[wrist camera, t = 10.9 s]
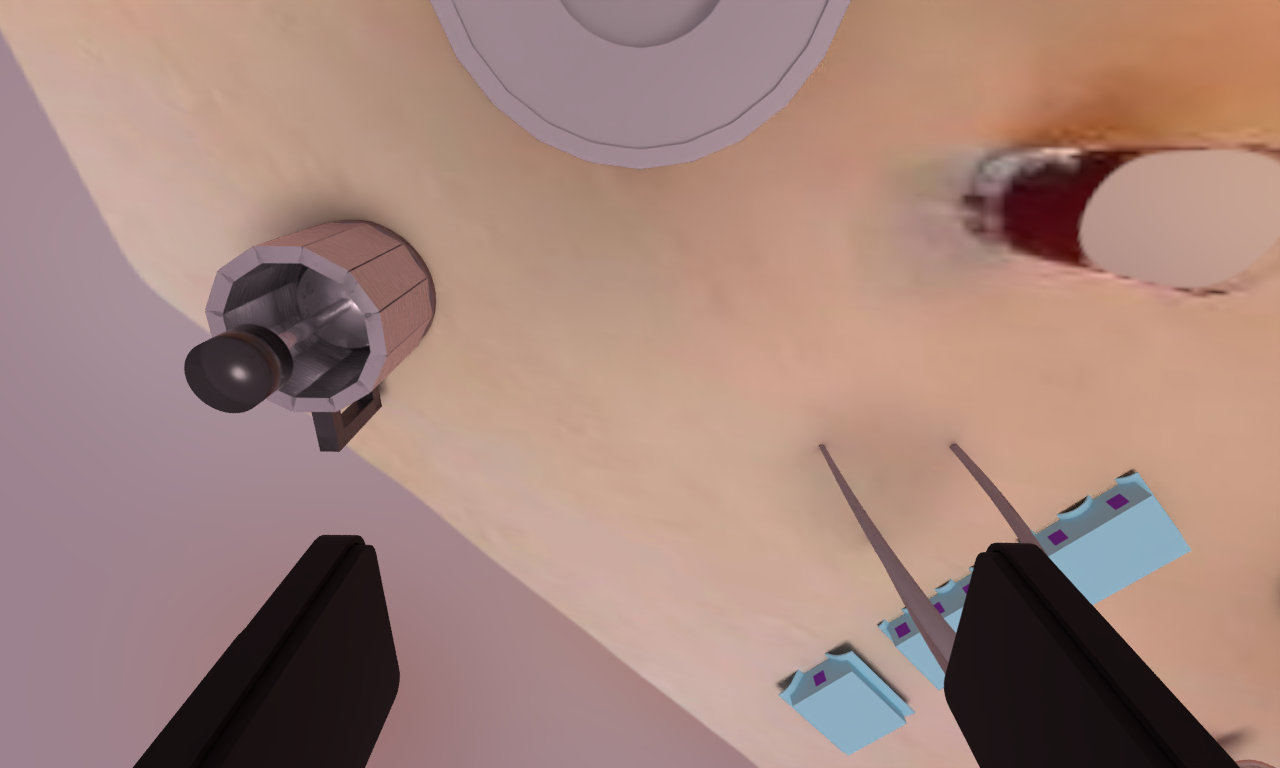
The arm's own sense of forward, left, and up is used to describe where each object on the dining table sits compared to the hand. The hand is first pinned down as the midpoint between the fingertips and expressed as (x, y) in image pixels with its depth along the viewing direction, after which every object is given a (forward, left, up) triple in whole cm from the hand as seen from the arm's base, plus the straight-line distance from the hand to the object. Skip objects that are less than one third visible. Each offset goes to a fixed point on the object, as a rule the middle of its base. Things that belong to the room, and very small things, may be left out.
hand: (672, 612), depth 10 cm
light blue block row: (+32, +28, -35) cm, 55 cm away
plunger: (+4, -20, -32) cm, 38 cm away
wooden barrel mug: (+6, -20, -34) cm, 40 cm away
